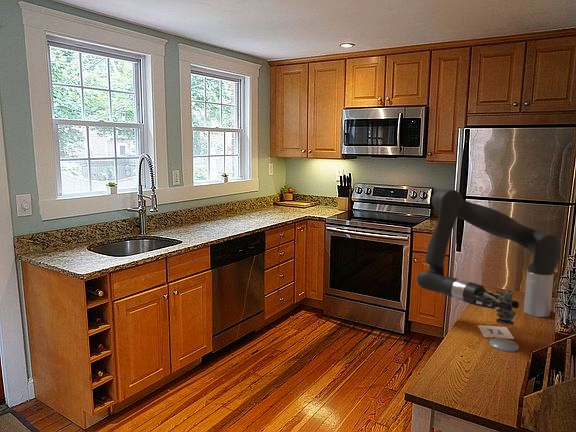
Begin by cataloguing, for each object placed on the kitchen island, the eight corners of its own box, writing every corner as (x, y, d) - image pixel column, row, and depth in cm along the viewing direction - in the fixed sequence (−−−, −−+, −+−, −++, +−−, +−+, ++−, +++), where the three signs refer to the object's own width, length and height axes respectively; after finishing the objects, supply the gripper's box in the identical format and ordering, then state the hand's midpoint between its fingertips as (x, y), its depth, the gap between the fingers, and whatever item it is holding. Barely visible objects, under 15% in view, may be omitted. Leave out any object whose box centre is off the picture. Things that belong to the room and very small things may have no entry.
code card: (477, 325, 164) (477, 325, 164) (506, 327, 162) (506, 327, 162) (484, 336, 155) (484, 336, 155) (514, 339, 153) (514, 338, 153)
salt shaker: (517, 326, 143) (520, 291, 141) (497, 324, 144) (501, 290, 142) (511, 319, 149) (515, 285, 147) (493, 317, 150) (496, 284, 148)
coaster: (486, 338, 153) (486, 337, 153) (514, 340, 151) (514, 339, 151) (493, 350, 144) (493, 348, 144) (522, 352, 143) (522, 351, 142)
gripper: (456, 285, 152) (504, 300, 138) (480, 278, 160) (527, 291, 146) (455, 306, 154) (502, 322, 140) (478, 297, 162) (525, 312, 148)
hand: (515, 306), depth 143 cm, fingers closed on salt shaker, 3 cm apart
